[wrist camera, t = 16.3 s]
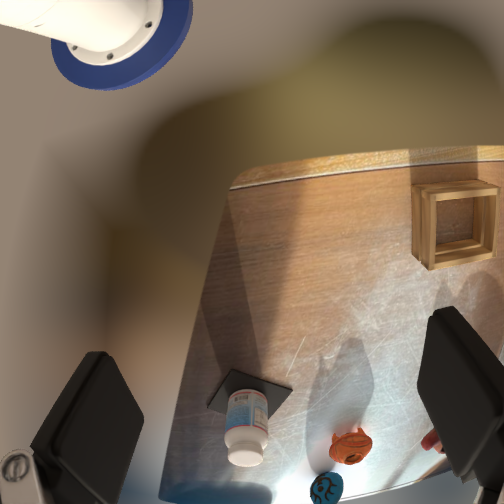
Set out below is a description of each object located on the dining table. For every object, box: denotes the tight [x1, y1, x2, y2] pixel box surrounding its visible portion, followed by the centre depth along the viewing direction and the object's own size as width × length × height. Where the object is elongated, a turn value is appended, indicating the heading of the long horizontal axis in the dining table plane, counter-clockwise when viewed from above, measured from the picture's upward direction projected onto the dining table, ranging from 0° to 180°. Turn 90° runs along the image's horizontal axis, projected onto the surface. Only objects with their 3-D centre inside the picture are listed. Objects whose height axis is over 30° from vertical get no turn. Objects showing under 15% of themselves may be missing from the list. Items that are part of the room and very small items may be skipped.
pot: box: [329, 428, 372, 465], centre depth 48 cm, size 8×8×7 cm
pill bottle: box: [225, 389, 268, 467], centre depth 41 cm, size 6×6×11 cm
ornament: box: [310, 472, 343, 504], centre depth 52 cm, size 8×5×10 cm, turn 138°
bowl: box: [421, 428, 445, 454], centre depth 46 cm, size 16×13×8 cm
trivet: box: [207, 369, 293, 419], centre depth 47 cm, size 10×10×1 cm
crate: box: [411, 180, 501, 271], centre depth 33 cm, size 11×9×5 cm
